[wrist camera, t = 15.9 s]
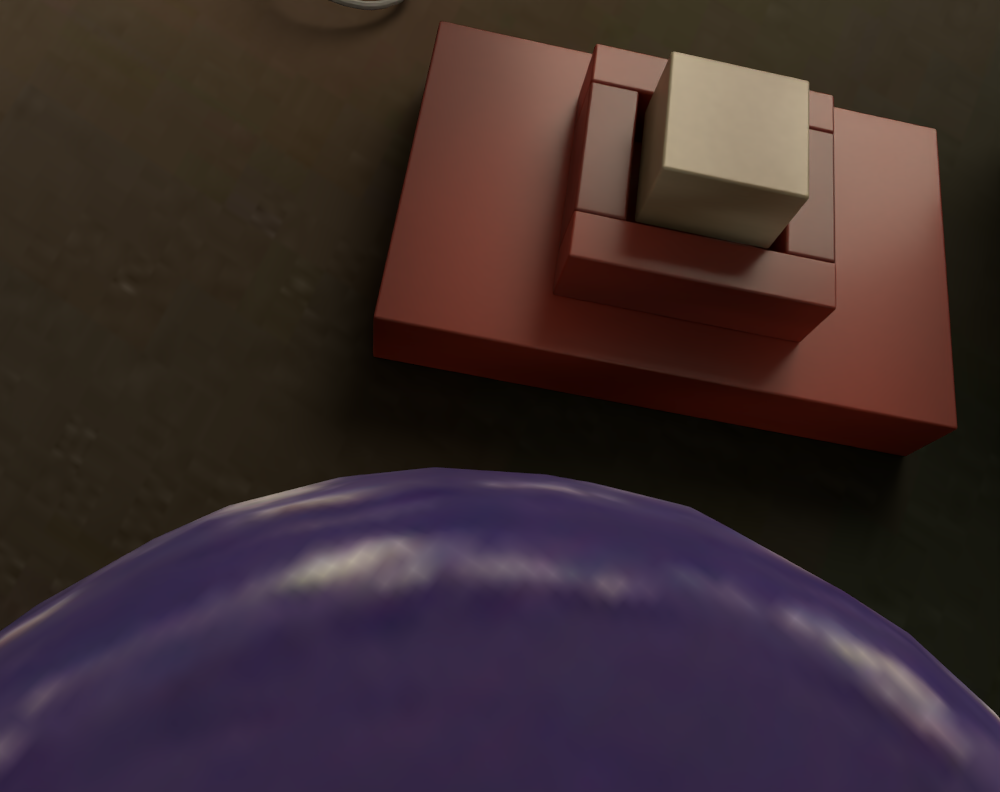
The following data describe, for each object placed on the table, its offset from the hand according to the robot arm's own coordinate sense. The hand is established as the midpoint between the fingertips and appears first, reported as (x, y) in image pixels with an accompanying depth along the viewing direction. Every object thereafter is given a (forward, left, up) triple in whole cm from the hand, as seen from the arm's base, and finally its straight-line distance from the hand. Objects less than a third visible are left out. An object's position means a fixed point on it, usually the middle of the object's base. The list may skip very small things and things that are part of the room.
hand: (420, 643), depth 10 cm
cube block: (+5, +12, -6) cm, 14 cm away
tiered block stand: (+5, +12, -9) cm, 16 cm away
